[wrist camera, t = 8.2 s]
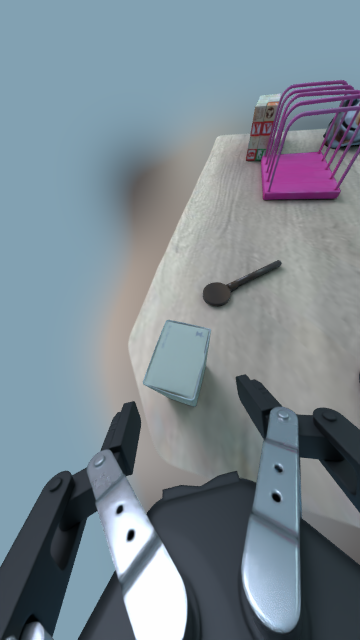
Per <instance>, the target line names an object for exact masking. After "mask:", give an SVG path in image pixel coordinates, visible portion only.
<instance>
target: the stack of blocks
mask: <svg viewBox="0 0 360 640" xmlns="http://www.w3.org/2000/svg"><path fill="white" fill-rule="evenodd" d="M280 95H281V94H273V95H263V96H260V99H259V101H258V103H257V104H256V107H255V112H254V118H253V123H252V128H251V134H250V141H249V146H248V151H247V156H246V161H254V160H256V161H261V160H262V156H265V154H266V150H267V146H268V142H269V138H270V134H271V130H272V126H273V123H274V119H275V115H276V111H277V108H278V104H279V101H280Z"/></svg>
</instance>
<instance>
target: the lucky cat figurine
mask: <svg viewBox="0 0 360 640" xmlns="http://www.w3.org/2000/svg"><path fill="white" fill-rule="evenodd" d="M347 95H351V94H347ZM350 100H351V99H350ZM350 100H345V101H344V103H343V105H342V107H348V104H349V102H350ZM341 102H342V101H341ZM359 103H360V99H354V100H353V102H352V104H351V106H359ZM340 104H341V103H340ZM344 113H345V112H339V114H338V116H337V118H336V120H335V122H334V125H333V127H332V129H331V131H330V133H329V135H328V137H327V139H326V142H325V144H324V145H327V146H329V144H330V142H331V140H332V138H333V136H334V134H335V132H336V130H337V128H338V126H339V123H340V121H341V119H342V117H343V115H344ZM355 113H356V111H348V113H347V115H346V117H345V119H344V121H343V123H342V125H341V127H340V129H339V131H338V133H337V135H336V137H335V139H334V141H333V143H332V145H331V148H337V146H338V145H339V143H340V141H341V139H342V137H343V135H344V133H345V132H346V130H347V128H348V126H349V124H350V122H351V120H352V118H353V117H354V115H355ZM333 119H334V118H333ZM333 119H332V121H333ZM332 121H331V122H330V124H329V126H328V128H327V130H326V132H325V134H324V135H323V137H324V138H325V137H326V134H327V132H328V130H329V128H330V126H331V124H332ZM359 123H360V111H359V113H358V115H357V117H356V119H355V121H354V122H353V124H352V126H351V128H350V130H349V132H348V134H347V135H346V137H345V139H344V141H343V143H342V144H341V146H347V145H348V144H349V142H350V140H351V138H352V136H353V134H354V133H355V131H356V129H357V127H358V125H359ZM351 145H360V130H359V132H358V133H357V135H356V137H355V139H354V141H353V142H352V144H351Z"/></svg>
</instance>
